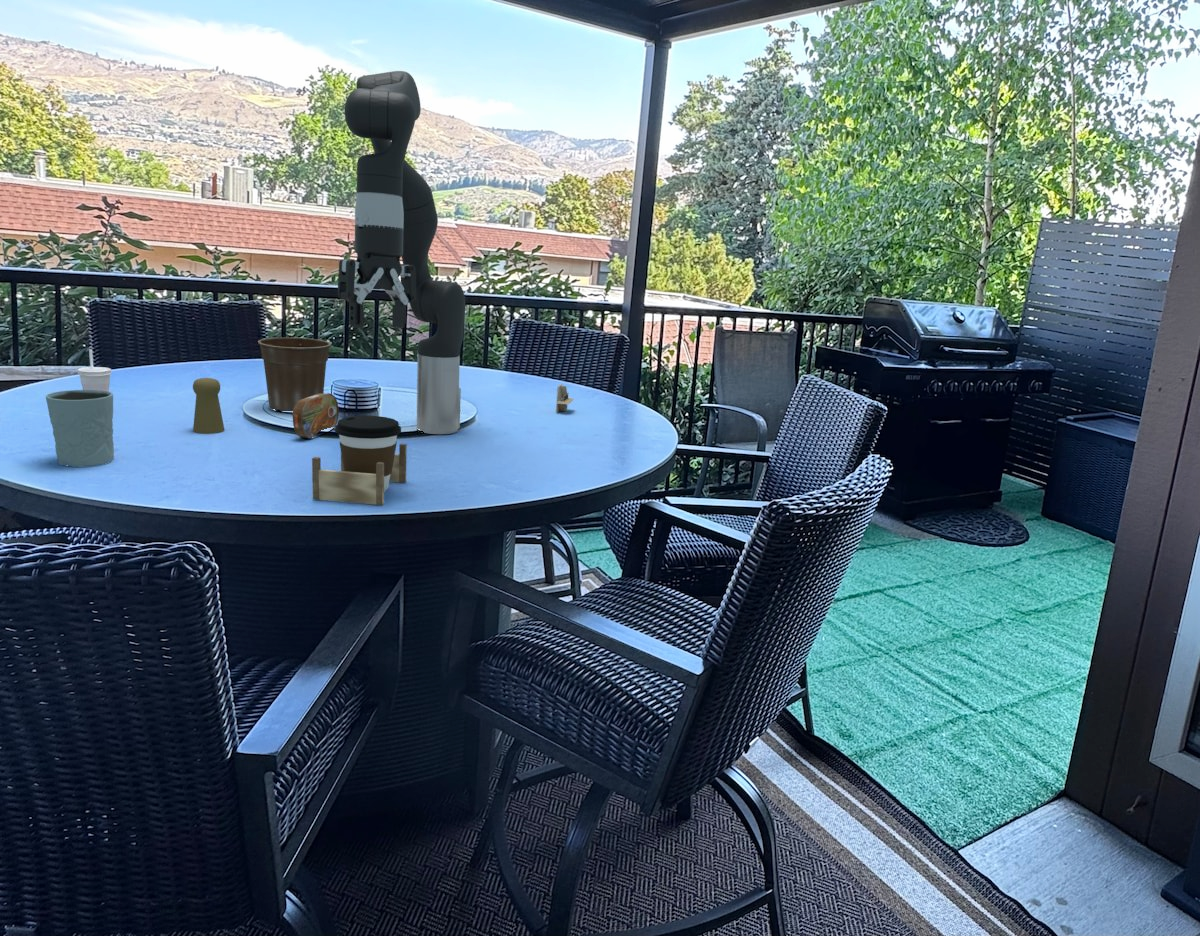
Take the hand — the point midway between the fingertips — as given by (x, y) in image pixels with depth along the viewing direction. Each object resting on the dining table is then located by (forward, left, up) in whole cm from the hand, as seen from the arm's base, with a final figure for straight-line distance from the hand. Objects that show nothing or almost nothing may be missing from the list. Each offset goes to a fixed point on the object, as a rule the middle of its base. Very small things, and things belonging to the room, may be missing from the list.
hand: (378, 327), depth 138 cm
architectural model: (-84, -8, -29) cm, 89 cm away
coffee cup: (0, -2, -28) cm, 28 cm away
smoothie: (-8, -83, -28) cm, 88 cm away
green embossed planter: (+17, -51, -28) cm, 61 cm away
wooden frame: (+1, -2, -28) cm, 28 cm away
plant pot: (-40, -57, -28) cm, 75 cm away
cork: (-12, -54, -28) cm, 62 cm away
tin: (-24, -36, -28) cm, 52 cm away
